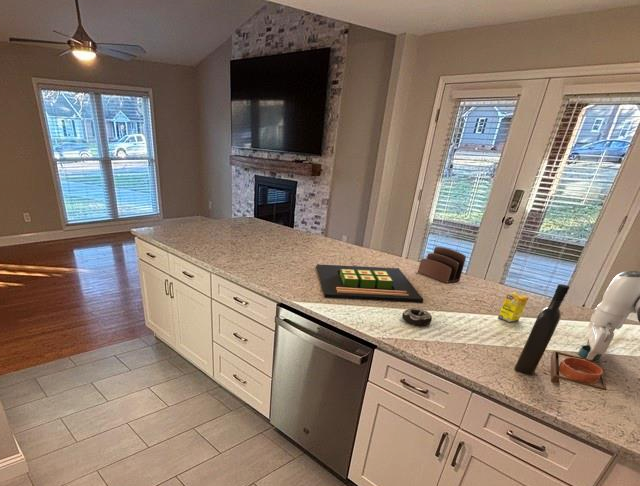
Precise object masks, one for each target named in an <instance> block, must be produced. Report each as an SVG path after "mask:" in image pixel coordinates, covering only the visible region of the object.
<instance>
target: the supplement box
mask: <svg viewBox="0 0 640 486" xmlns="http://www.w3.org/2000/svg"><path fill="white" fill-rule="evenodd" d="M529 298H530V297H529V296H526V295H524V294H521V293H518V292H516V291H515V292H512V293H511V292H510V293H507V294H506V297H505V299H504V301H503V303H502V306H501V309H500V311H499V313H498V317H497V318H498V319H499V320H502V321H505V322H506V323H508V324H512V323H516V322H519V321H520V318H521V317H522V314H523V312H524V309H525V307H526V305H527V303H528V300H529Z"/></svg>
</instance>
